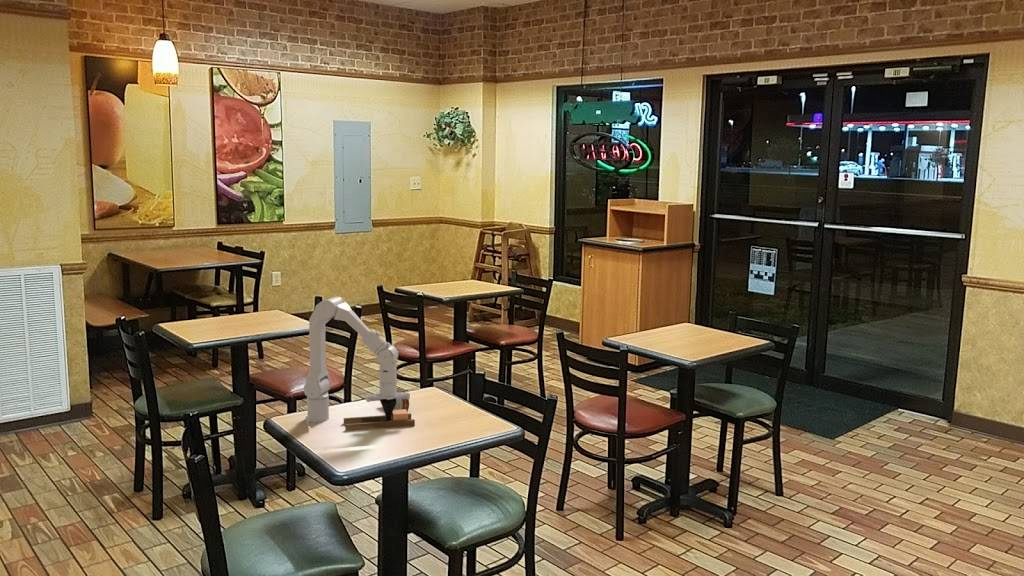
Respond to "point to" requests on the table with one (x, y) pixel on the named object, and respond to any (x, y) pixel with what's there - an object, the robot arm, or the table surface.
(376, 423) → the chute
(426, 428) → the table surface
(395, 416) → the block
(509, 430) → the table surface
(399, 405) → the tin
